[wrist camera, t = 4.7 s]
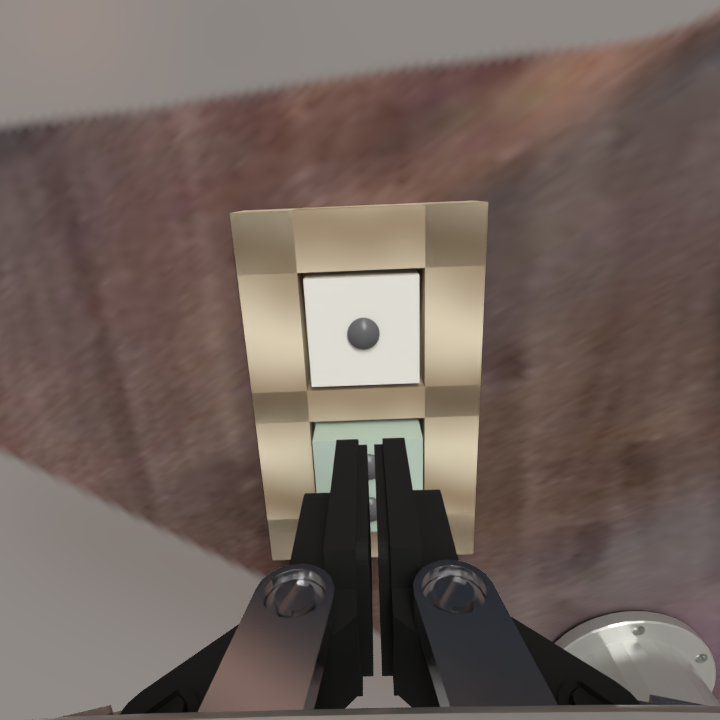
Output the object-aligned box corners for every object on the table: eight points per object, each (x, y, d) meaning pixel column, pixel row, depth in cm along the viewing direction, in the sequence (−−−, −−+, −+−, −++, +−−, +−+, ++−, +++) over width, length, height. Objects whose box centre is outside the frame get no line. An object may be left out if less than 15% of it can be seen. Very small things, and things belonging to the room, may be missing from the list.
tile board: (462, 521, 32) (472, 553, 29) (280, 527, 32) (272, 560, 29) (474, 200, 25) (488, 201, 23) (244, 210, 26) (229, 213, 23)
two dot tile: (418, 505, 29) (423, 532, 26) (322, 508, 29) (319, 535, 26) (418, 418, 27) (423, 440, 24) (316, 422, 27) (312, 443, 25)
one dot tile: (415, 368, 27) (420, 384, 25) (315, 372, 27) (311, 388, 25) (414, 267, 26) (419, 275, 23) (307, 272, 26) (302, 280, 23)
